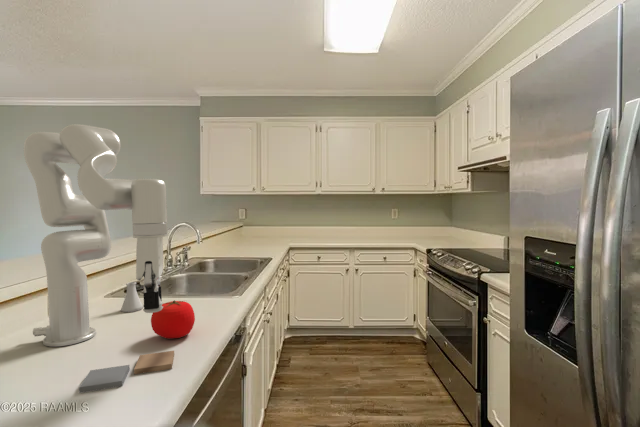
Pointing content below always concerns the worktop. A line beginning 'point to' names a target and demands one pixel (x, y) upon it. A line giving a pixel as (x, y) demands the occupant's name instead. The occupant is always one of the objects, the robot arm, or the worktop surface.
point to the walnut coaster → (154, 362)
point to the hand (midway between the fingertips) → (153, 305)
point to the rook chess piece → (159, 302)
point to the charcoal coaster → (104, 378)
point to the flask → (131, 299)
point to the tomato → (173, 319)
